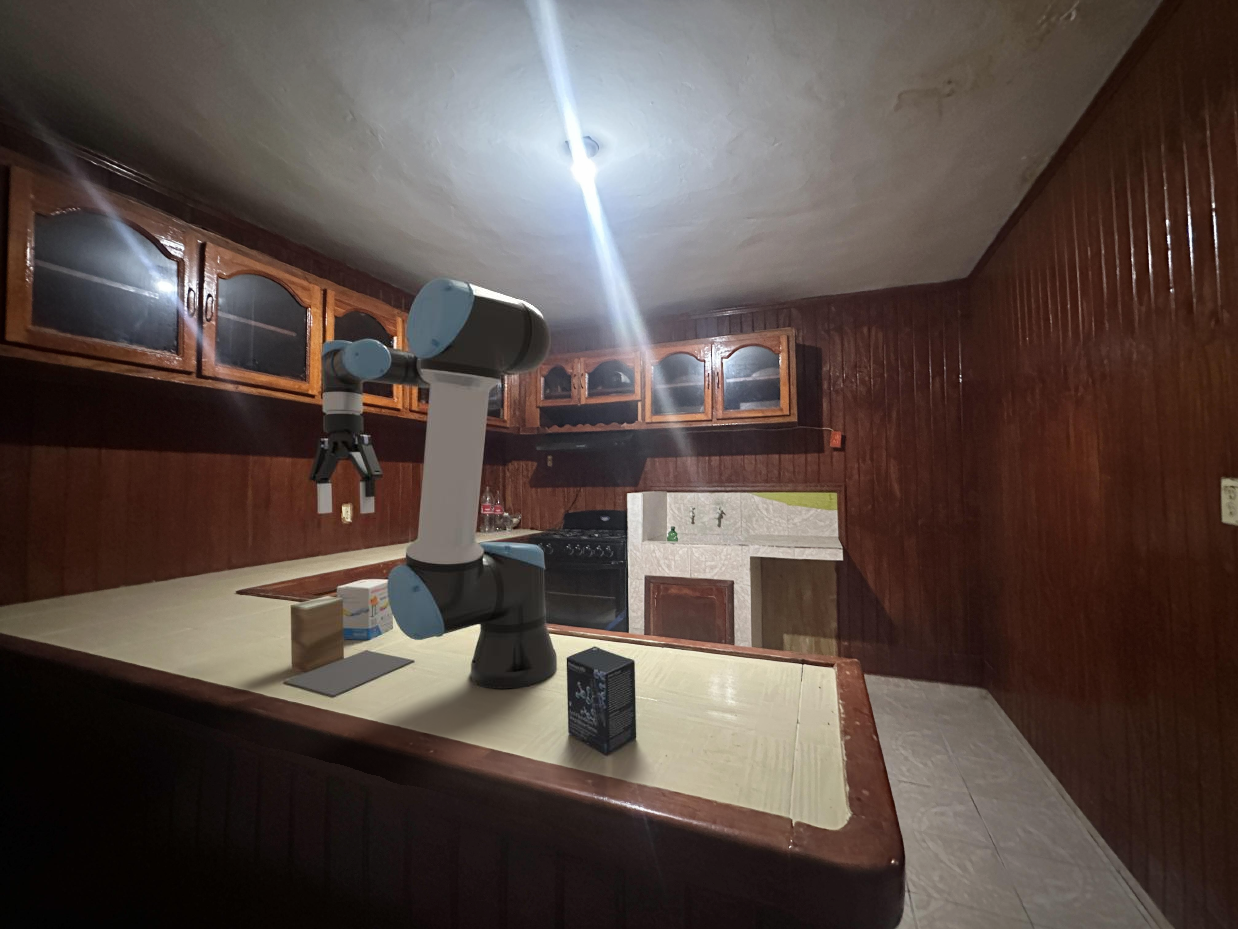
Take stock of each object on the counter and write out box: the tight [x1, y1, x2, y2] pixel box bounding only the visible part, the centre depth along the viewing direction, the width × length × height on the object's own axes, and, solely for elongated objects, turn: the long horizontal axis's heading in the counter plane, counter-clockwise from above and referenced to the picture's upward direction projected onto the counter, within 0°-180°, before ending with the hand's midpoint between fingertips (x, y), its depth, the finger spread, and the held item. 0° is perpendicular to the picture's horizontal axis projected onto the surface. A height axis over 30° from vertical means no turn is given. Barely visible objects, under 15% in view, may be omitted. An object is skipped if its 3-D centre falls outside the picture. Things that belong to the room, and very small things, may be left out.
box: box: [565, 645, 637, 756], centre depth 65 cm, size 8×6×11 cm
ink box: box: [336, 578, 394, 641], centre depth 112 cm, size 9×8×12 cm
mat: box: [282, 650, 415, 698], centre depth 89 cm, size 14×16×1 cm
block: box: [290, 595, 345, 673], centre depth 94 cm, size 5×7×12 cm
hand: (345, 513), depth 104 cm, fingers open, 13 cm apart
